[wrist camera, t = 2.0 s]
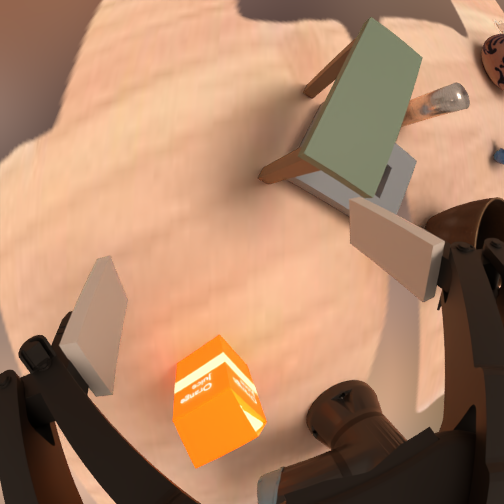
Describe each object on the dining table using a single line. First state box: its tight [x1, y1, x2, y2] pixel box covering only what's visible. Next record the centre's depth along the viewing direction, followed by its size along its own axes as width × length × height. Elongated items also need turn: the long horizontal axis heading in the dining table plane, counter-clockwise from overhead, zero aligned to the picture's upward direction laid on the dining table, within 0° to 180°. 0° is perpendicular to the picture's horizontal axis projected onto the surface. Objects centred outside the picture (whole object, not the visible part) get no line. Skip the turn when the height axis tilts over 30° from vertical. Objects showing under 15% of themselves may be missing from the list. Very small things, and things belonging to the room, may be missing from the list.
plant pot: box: [425, 197, 504, 287], centre depth 41 cm, size 15×15×16 cm
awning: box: [258, 17, 422, 198], centre depth 31 cm, size 7×18×21 cm, turn 153°
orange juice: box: [173, 335, 267, 469], centre depth 35 cm, size 8×9×20 cm
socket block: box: [286, 102, 417, 217], centre depth 41 cm, size 18×14×4 cm
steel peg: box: [401, 83, 470, 127], centre depth 36 cm, size 4×4×16 cm
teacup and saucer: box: [493, 19, 504, 34], centre depth 44 cm, size 9×8×4 cm
